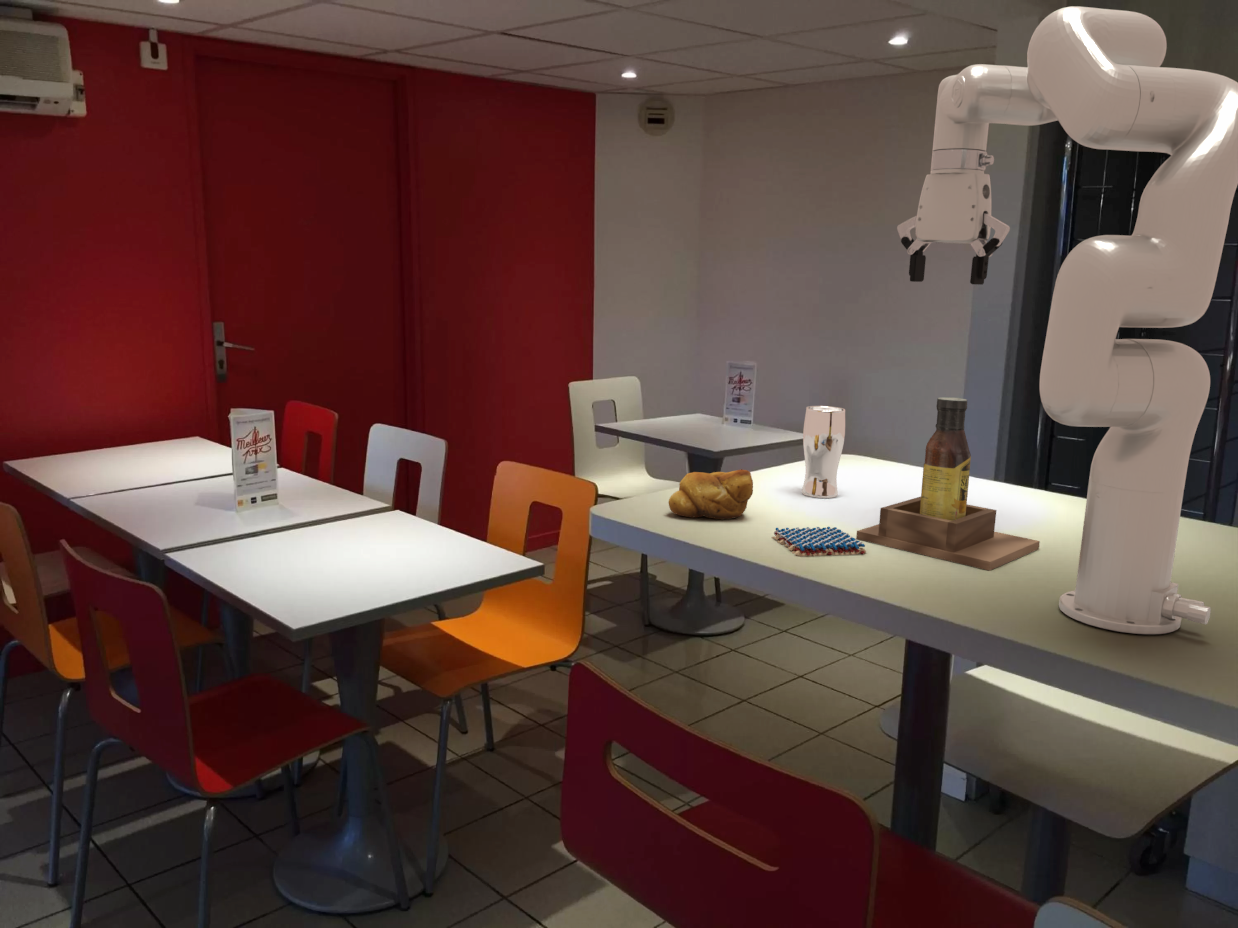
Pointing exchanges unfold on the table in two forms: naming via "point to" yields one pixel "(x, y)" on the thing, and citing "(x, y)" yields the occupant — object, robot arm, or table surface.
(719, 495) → the bread roll
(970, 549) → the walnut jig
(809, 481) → the beer glass
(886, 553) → the table surface
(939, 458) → the sauce bottle
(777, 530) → the woven mat
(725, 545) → the table surface
